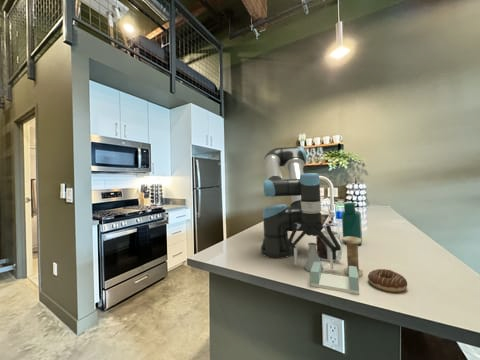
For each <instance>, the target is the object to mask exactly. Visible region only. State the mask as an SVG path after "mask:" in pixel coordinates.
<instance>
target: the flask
mask: <svg viewBox="0 0 480 360" xmlns="http://www.w3.org/2000/svg"><path fill="white" fill-rule="evenodd" d="M307 245H308V254H307V256H306V257H307V258H306V261H305V264H304V269H305V270H306V271H307V272H311V268H312V265H313V263H314V261H315V262H321V259H320V258H319V257H318V254H317V243H316V242H308V244H307ZM323 271H324V266H323V265H322V263H321V272H323Z"/></svg>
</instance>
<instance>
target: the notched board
mask: <svg viewBox="0 0 480 360" xmlns="http://www.w3.org/2000/svg"><path fill="white" fill-rule="evenodd" d="M321 264H322V262H321V261H320V262H315V261H314V263H313V265H312V268H311V271H310V286H311V287H315V288H319V289H325V290H326V289H327V290H332V291H338V292H343V293H350V294H356V295H360V287H359V284H360V283H359V282H360V281H359V279H360V278H359V277H358V272H357V267H355V266H349V276H344V275H336V274H331V273H329V274H328V273H323V271H321Z"/></svg>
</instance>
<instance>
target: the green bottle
mask: <svg viewBox="0 0 480 360" xmlns="http://www.w3.org/2000/svg"><path fill="white" fill-rule="evenodd" d="M343 204H344V205H343V206H344V207H343V208H344V209H343V210H344V211H343V212H342V213H341V223H342V225H341V226H342V227H341V229H342V238H343V237H346V236H352V237H358V238H360V239H361V243H358V246H362V244H363V233H362V229H363V227H362V213H361V212H360V211H358V210H356V205H357V203H356V202H346V203H345V202H344V203H343ZM342 243H343V244H344V245H347V243H346V242H344V241H343V240H342Z"/></svg>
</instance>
